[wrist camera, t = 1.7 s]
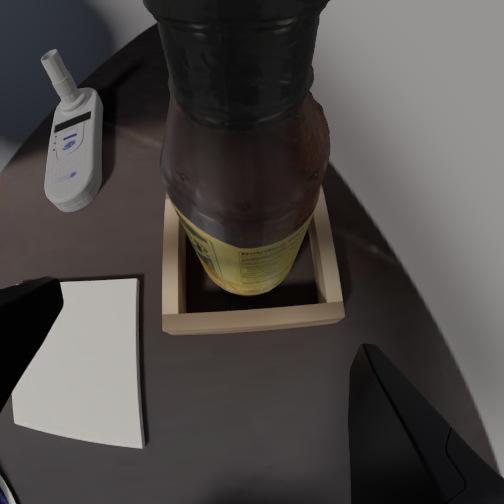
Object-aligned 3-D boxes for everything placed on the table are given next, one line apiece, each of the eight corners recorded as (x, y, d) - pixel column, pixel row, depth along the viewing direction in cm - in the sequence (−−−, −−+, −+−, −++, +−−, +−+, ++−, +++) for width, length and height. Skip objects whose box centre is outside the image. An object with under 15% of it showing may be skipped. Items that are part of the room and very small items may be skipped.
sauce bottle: (205, 221, 23) (129, -63, 5) (288, 216, 24) (335, -74, 5) (205, 308, 21) (23, 18, 3) (297, 303, 21) (448, -5, 3)
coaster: (145, 446, 17) (142, 448, 17) (18, 423, 17) (14, 423, 17) (139, 280, 22) (136, 278, 21) (20, 286, 22) (16, 284, 21)
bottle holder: (335, 323, 21) (345, 317, 18) (172, 335, 20) (162, 330, 18) (314, 194, 24) (320, 176, 22) (174, 204, 24) (166, 187, 22)
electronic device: (-7, 163, 15) (31, 53, 20) (56, 221, 24) (65, 112, 29) (51, 134, 16) (77, 31, 21) (105, 204, 25) (105, 97, 30)
